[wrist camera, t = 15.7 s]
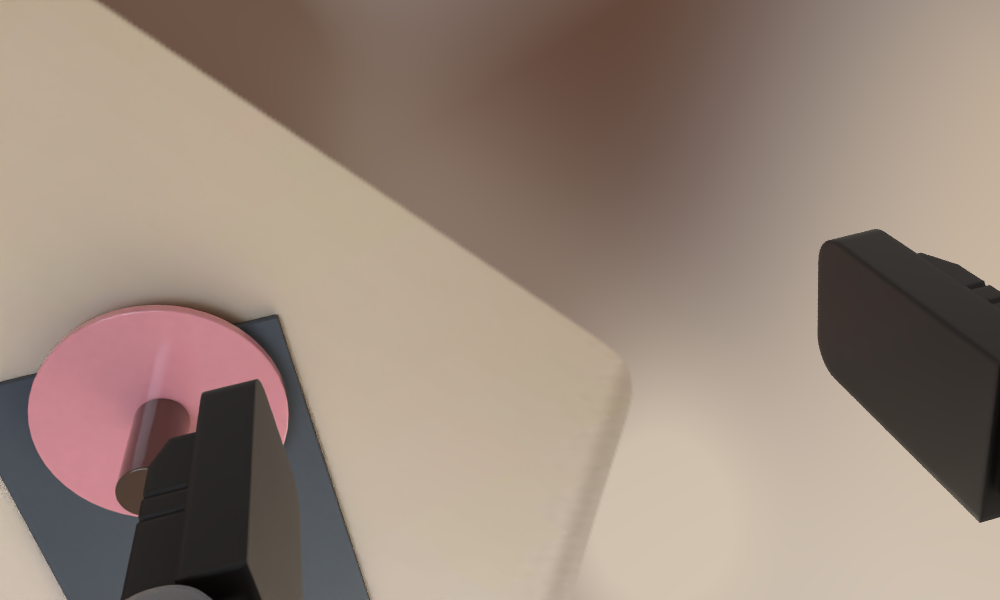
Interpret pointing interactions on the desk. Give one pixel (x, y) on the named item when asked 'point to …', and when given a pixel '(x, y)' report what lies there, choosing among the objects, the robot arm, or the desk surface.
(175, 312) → the pink lid with knob
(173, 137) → the desk surface
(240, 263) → the desk surface
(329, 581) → the mat
